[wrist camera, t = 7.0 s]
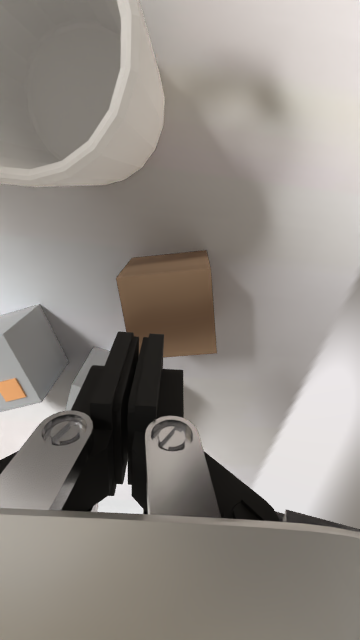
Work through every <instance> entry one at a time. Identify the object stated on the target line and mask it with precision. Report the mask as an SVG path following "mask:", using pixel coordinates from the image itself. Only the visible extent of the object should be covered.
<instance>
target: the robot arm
mask: <svg viewBox="0 0 360 640" xmlns="http://www.w3.org/2000/svg"><path fill="white" fill-rule="evenodd" d="M163 349H164V334H149V337H143V340H142V345H141V349H140V353H139V337H135V336H134V333H133V332H118V333H117V336H116V338H115V341H114V343H113V346H112V348H111V351H110V353H109V356H108V358H107V361H106V363H105V366H100V365H92V366H91V368H90V370H89V372H88V374H87V376H86V379H85V381H84V383H83V385H82V387H81V389H80V391H79V394H78V396H77V398H76V400H75V402H74V404H73V406H72V409H71V411H63V412H59V413H56V414H53V415H51V416H49V417H48V418H46V419H45V420H44V421H43V422H42V423H40V424H39V426H38V427H37V428H36V429H35V431H34V432H33V433H32V435H31V436H30V437H29V438H28V440H27V441H26V442H25V444H24V445H23V446H22V447H21V449H20V450H19V451H17V452H16V453H14V454H12V455H10V456H8V457H6V458H4V459H2V460H0V640H360V529H357V528H353V527H349V526H346V525H342V524H338V523H334V522H330V521H327V520H323V519H320V518H316V517H312V516H308V515H305V514H301V513H297V512H293V511H289V510H286V511H285V514H283V513H279V512H275V511H274V509H273V508H272V507H271V506H270V505H269V504H268V503H267V502H266V501H265V500H264V499H263V498H262V497H260V496H259V495H258V494H257V493H255V492H254V491H253V490H252V489H250V488H249V487H248V486H247V485H245V484H244V483H243V482H242V481H240V480H239V479H238V478H237V477H235V476H234V475H233V474H232V473H230V472H229V471H228V470H227V469H225V468H224V467H223V466H222V465H220V464H219V463H218V462H217V461H215V460H214V459H213V458H212V457H210V456H209V455H208V454H207V453H205V452H204V451H203V448H202V444H201V440H200V436H199V433H198V431H197V429H196V427H195V426H194V425H193V424H192V423H191V422H190V421H188V420H186V419H185V418H184V417H183V370H171V369H163ZM127 460H128V484H129V485H132V497H133V498H134V499H135V500H136V501H137V502H138V503H139V504H140V506H141V507H142V508H143V514H127V513H105V512H97V510H98V502H100V501H101V500H102V499H104V498H105V497H107V496H114V494H115V489H116V484H123V481H124V476H125V471H126V465H127Z"/></svg>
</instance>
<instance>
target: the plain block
mask: <svg viewBox="0 0 360 640" xmlns="http://www.w3.org/2000/svg"><path fill="white" fill-rule="evenodd" d="M116 280H117V286H118V291H119V296H120V301H121V306H122V311H123V316H124V321H125V327H126V332H133V333H134V336H135V337H139V353H140V349H141V345H142V340H143V337H149V334H164V349H163V357H175V356H187V355H200V354H212V353H217V348H216V334H215V320H214V307H213V293H212V279H211V268H210V263H209V259H208V255H207V251H206V250H204V251H194V252H185V253H175V254H165V255H156V256H146V257H136V258H131V260H130V261H129V262H128V264H127V265H126V266H125V267H124V269H123V270H122V271H121V272H120V274H119V275H118V276H117V278H116Z"/></svg>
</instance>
